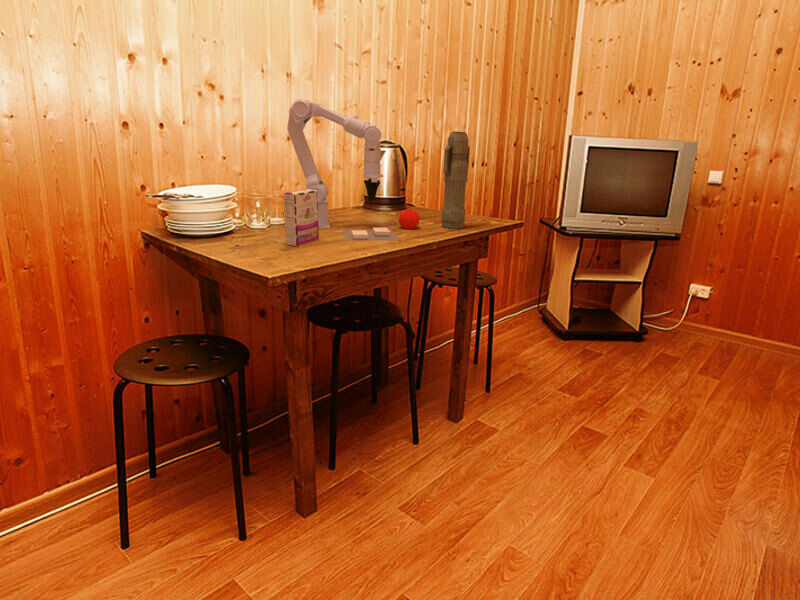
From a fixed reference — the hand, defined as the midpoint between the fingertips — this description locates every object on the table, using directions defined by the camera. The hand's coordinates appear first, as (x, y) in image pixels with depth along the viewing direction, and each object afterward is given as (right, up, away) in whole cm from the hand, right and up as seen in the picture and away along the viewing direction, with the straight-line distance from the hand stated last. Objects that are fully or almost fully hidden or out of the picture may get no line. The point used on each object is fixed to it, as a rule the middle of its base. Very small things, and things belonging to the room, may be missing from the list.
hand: (371, 200), depth 195 cm
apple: (+14, -10, +5) cm, 18 cm away
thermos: (+30, -8, +13) cm, 34 cm away
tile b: (+3, -11, -5) cm, 13 cm away
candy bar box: (-21, -18, -23) cm, 36 cm away
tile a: (-4, -13, -11) cm, 17 cm away
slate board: (0, -14, -9) cm, 17 cm away
